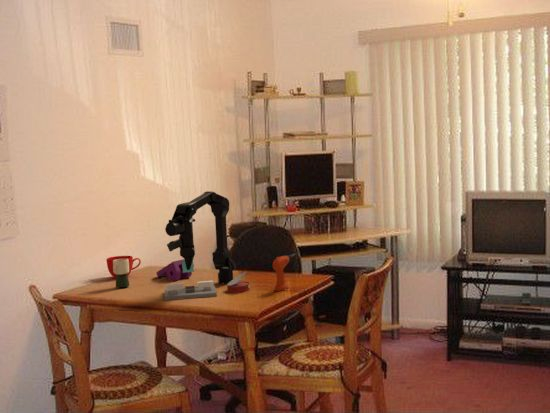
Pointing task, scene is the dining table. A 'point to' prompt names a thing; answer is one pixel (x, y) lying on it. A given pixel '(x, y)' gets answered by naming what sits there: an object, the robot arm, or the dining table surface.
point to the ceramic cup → (130, 258)
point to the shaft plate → (190, 291)
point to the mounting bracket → (174, 271)
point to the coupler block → (186, 267)
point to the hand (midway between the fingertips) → (188, 269)
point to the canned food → (238, 285)
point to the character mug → (121, 272)
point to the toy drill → (281, 271)
